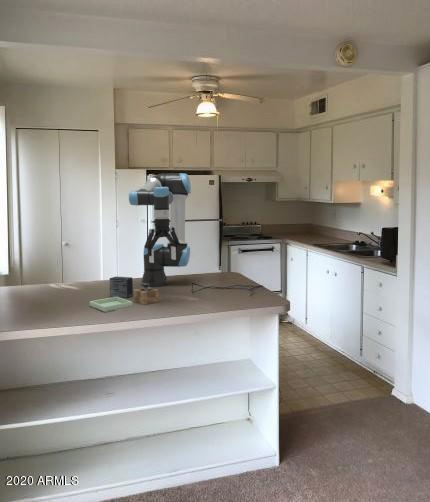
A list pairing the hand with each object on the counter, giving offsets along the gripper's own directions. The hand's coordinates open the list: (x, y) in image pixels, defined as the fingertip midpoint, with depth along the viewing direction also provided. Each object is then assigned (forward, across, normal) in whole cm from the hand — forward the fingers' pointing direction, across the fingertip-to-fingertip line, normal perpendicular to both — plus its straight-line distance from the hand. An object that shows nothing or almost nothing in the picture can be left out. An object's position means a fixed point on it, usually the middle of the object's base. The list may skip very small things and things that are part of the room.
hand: (162, 260), depth 256 cm
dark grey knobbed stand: (+21, -8, +4) cm, 22 cm away
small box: (+21, -10, +23) cm, 32 cm away
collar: (+20, -8, +4) cm, 22 cm away
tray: (+21, -25, +9) cm, 34 cm away
